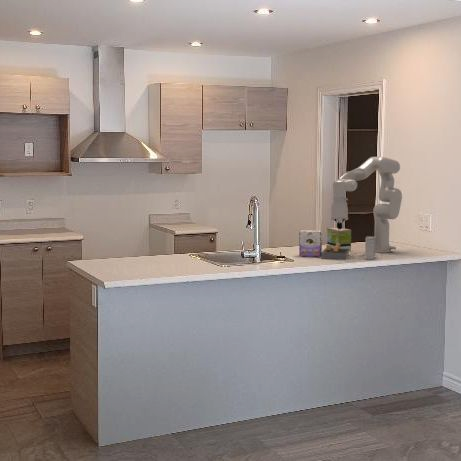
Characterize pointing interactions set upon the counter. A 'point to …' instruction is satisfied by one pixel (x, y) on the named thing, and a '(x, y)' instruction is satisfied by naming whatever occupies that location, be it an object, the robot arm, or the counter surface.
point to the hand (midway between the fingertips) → (339, 229)
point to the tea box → (339, 238)
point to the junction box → (369, 248)
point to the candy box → (310, 243)
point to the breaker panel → (335, 254)
